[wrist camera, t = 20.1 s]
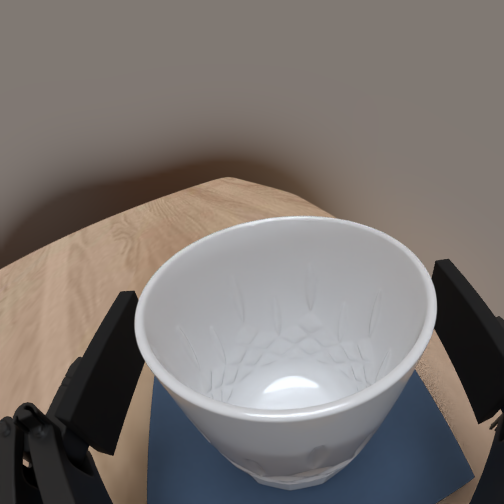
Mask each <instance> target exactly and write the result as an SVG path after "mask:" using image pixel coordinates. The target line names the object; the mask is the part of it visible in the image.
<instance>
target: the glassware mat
mask: <svg viewBox="0 0 504 504" xmlns="http://www.w3.org/2000/svg"><path fill="white" fill-rule="evenodd" d="M474 477H475V476H474V474H473V472H472V470H471V468H470V466H469V464H468V462H467V460H466V458H465V456H464V454H463V452H462V450H461V448H460V446H459V444H458V442H457V440H456V439H455V437H454V435H453V433H452V431H451V429H450V428H449V426H448V424H447V422H446V420H445V419H444V417H443V415H442V413H441V412H440V410H439V408H438V406H437V405H436V403H435V401H434V400H433V398H432V396H431V395H430V393H429V391H428V390H427V388H426V386H425V385H424V383H423V382H422V380H421V378H420V377H419V375H418V373H417V372H416V370H414V372H413V374H412V376H411V377H410V379H409V381H408V383H407V384H406V386H405V388H404V390H403V391H402V393H401V395H400V396H399V398H398V400H397V401H396V403H395V405H394V406H393V408H392V409H391V411H390V412H389V414H388V416H387V417H386V419H385V420H384V422H383V423H382V425H381V426H380V428H379V429H378V430H377V432H376V433H375V434H374V436H373V437H372V438H371V439H370V441H369V442H368V443H367V444H366V446H365V447H364V448H363V449H362V450H361V451H360V452H359V454H358V455H357V456H356V457H355V458H354V459H353V460H352V461H351V462H350V463H349V464H348V465H347V466H346V467H345V468H343V469H342V470H341V471H340V472H338V473H337V474H336V475H334V476H333V477H331V478H330V479H329V480H327V481H326V482H325V483H323V484H320V485H316V486H311V487H306V488H301V489H296V490H291V491H290V490H284V489H280V488H275V487H271V486H267V485H263V484H259V483H258V482H256V481H255V480H254V479H253V478H251V477H250V476H249V475H248V474H247V473H245V472H244V471H242V470H241V469H239V468H237V467H236V466H234V465H233V464H232V463H231V462H230V461H229V460H228V459H227V458H225V457H224V456H223V455H222V454H221V453H220V452H219V451H218V450H217V449H216V448H215V447H214V446H213V445H211V443H210V442H208V440H207V439H206V438H205V437H204V436H203V435H202V434H201V432H200V431H199V430H198V429H197V428H196V427H195V425H194V424H193V423H192V422H191V421H190V419H189V418H188V417H187V416H186V415H185V413H184V412H183V411H182V410H181V409H180V407H179V406H178V405H177V404H176V402H175V401H174V400H173V399H172V397H171V396H170V395H169V394H168V392H167V391H166V390H165V388H164V387H163V386H162V384H161V383H160V382H159V380H158V379H157V378H156V376H154V385H153V395H152V405H151V417H150V430H149V446H148V470H147V504H436V503H437V502H439V501H441V500H442V499H444V498H445V497H447V496H449V495H450V494H452V493H453V492H455V491H456V490H458V489H459V488H461V487H462V486H463V485H465V484H466V483H468V482H469V481H470V480H472V479H473V478H474Z"/></svg>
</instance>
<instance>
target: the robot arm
mask: <svg viewBox="0 0 504 504" xmlns="http://www.w3.org/2000/svg"><path fill="white" fill-rule="evenodd" d="M431 279H432V282H433V285H434V288H435V292H436V298H437V315H436V322H435V326H434V329H435V331H436V333H437V335H438V336H439V338H440V340H441V342H442V344H443V346H444V348H445V350H446V352H447V354H448V356H449V358H450V360H451V362H452V364H453V366H454V368H455V370H456V372H457V374H458V377H459V379H460V381H461V383H462V385H463V388H464V390H465V392H466V394H467V397H468V399H469V402H470V404H471V406H472V409H473V411H474V414H475V416H476V419H477V422H478V424H480V423H482V422H484V421H486V420H488V419H490V418H492V417H493V416H494V415H495V414H496V413H497V412H498V411H499V410H500V409H501V411H502V414H501V415H500V416H499V417H498V418H497V419H496V420H495V421H494V422H493V423H492V424H491V426H490V429H493V428H494V427H495V426H496V425H497V424H498V425H497V427H496V428H495V430H494V431H496V433H495V436H494V440H493V443H492V447H491V450H490V453H489V456H488V459H487V462H486V465H485V468H484V470H483V473H482V476H481V478H480V481H479V483H478V485H477V488H476V490H475V492H474V495H473V497H472V499H471V501H470V503H469V504H504V320H503V319H502V318H501V317H500V316H498V317H495V316H494V315H493V313H492V312H491V310H490V309H489V308H488V306H487V305H486V304H485V302H484V301H483V300H482V298H481V297H480V296H479V294H478V293H477V292H476V291H475V290H474V288H473V287H472V286H471V285H470V283H469V282H468V281H467V280H466V278H465V277H464V276H463V275H462V274H461V273H460V271H459V270H458V269H457V268H456V267H455V266H454V264H453V263H452V262H451V261H450V260H449V259H444V260H438V261H435V266H434V270H433V275H432V278H431ZM138 301H139V300H138V298H137V295H136V293H135V291H122V292H120V293H119V295H118V296H117V298H116V300H115V301H114V303H113V305H112V306H111V308H110V309H109V311H108V313H107V315H106V316H105V318H104V320H103V321H102V323H101V325H100V326H99V328H98V330H97V332H96V333H95V335H94V337H93V339H92V341H91V342H90V344H89V346H88V348H87V350H86V352H85V353H84V355H83V357H78V358H77V359H76V360H75V361H74V362H73V363H72V364H71V366H70V367H69V369H68V371H67V373H66V375H65V376H66V377H65V378H64V379H63V381H62V383H61V384H62V385H61V386H60V387H59V389H58V391H57V393H56V395H55V397H54V399H53V401H52V403H51V405H50V407H49V410H48V412H47V413H46V415H44V414H43V413H42V412H41V411H40V410H39V409H38V408H37V407H36V406H35V405H34V404H33V403H29V402H27V403H23V404H22V405H20V406H19V407H18V408H17V410H16V411H15V413H14V416H13V418H11V417H8V416H7V417H4V418H3V419H1V420H0V504H113V503H112V501H111V499H110V497H109V495H108V492H107V490H106V488H105V486H104V484H103V482H102V479H101V477H100V475H99V472H98V470H97V467H96V465H95V462H94V460H93V457H92V455H91V453H90V452H89V451H88V447H89V445H90V446H91V447H93V448H94V449H95V450H97V451H98V452H102V453H105V454H108V455H112V456H114V452H115V449H116V446H117V442H118V439H119V436H120V433H121V429H122V426H123V423H124V420H125V417H126V414H127V411H128V408H129V405H130V402H131V399H132V396H133V393H134V390H135V388H136V385H137V382H138V379H139V376H140V374H141V371H142V368H143V365H144V363H145V360H144V358H143V356H142V354H141V352H140V350H139V347H138V344H137V340H136V335H135V324H134V323H135V312H136V308H137V304H138ZM23 459H25V460H26V461H28V462H29V467H26V466H25V465H23Z"/></svg>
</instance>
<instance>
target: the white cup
mask: <svg viewBox="0 0 504 504" xmlns="http://www.w3.org/2000/svg"><path fill="white" fill-rule="evenodd" d="M436 315H437V298H436V292H435V288H434V285H433V282H432V279H431V277H430V275H429V273H428V271H427V270H426V268H425V266H424V265H423V264H422V262H421V261H420V260H419V259H418V258H417V256H416V255H415V254H414V253H413V252H412V251H410V250H409V249H408V248H407V247H406V246H405V245H403V244H402V243H400V242H399V241H397V240H396V239H394V238H393V237H391V236H389V235H387V234H385V233H383V232H381V231H379V230H376V229H374V228H371V227H369V226H365V225H362V224H359V223H356V222H352V221H347V220H342V219H336V218H329V217H319V216H285V217H275V218H267V219H261V220H255V221H251V222H246V223H242V224H238V225H235V226H232V227H228V228H225V229H223V230H220V231H217V232H215V233H212V234H210V235H208V236H205V237H203V238H201V239H199V240H197V241H195V242H193V243H192V244H190V245H188V246H187V247H185V248H183V249H182V250H180V251H179V252H178V253H176V254H175V255H174V256H172V257H171V258H170V259H169V260H167V261H166V262H165V263H164V264H163V265H162V266H161V267H160V268H159V269H158V270H157V271H156V272H155V273H154V275H153V276H152V277H151V279H150V280H149V281H148V283H147V284H146V286H145V288H144V290H143V291H142V294H141V296H140V298H139V301H138V304H137V308H136V312H135V323H134V324H135V335H136V340H137V344H138V347H139V350H140V352H141V354H142V356H143V358H144V360H145V362H146V364H147V365H148V367H149V368H150V369H151V371H152V372H153V374H154V375H155V376H156V378H157V379H158V380H159V382H160V383H161V384H162V386H163V387H164V388H165V390H166V391H167V392H168V394H169V395H170V396H171V397H172V399H173V400H174V401H175V402H176V404H177V405H178V406H179V407H180V409H181V410H182V411H183V412H184V413H185V415H186V416H187V417H188V418H189V419H190V421H191V422H192V423H193V424H194V425H195V427H196V428H197V429H198V430H199V431H200V432H201V434H202V435H203V436H204V437H205V438H206V439H207V440H208V442H210V443H211V445H213V446H214V447H215V448H216V449H217V450H218V451H219V452H220V453H221V454H222V455H223V456H224V457H225V458H227V459H228V460H229V461H230V462H231V463H232V464H233V465H234V466H236V467H237V468H239V469H241V470H242V471H244V472H245V473H247V474H248V475H249V476H250V477H251V478H253V479H254V480H255V481H256V482H258V483H259V484H263V485H267V486H271V487H275V488H280V489H284V490H290V491H291V490H296V489H301V488H306V487H311V486H316V485H320V484H323V483H325V482H326V481H327V480H329V479H330V478H331V477H333V476H334V475H336V474H337V473H338V472H340V471H341V470H342V469H343V468H345V467H346V466H347V465H348V464H349V463H350V462H351V461H352V460H353V459H354V458H355V457H356V456H357V455H358V454H359V452H360V451H361V450H362V449H363V448H364V447H365V446H366V444H367V443H368V442H369V441H370V439H371V438H372V437H373V436H374V434H375V433H376V432H377V430H378V429H379V428H380V426H381V425H382V423H383V422H384V420H385V419H386V417H387V416H388V414H389V412H390V411H391V409H392V408H393V406H394V405H395V403H396V401H397V400H398V398H399V396H400V395H401V393H402V391H403V390H404V388H405V386H406V384H407V383H408V381H409V379H410V377H411V376H412V374H413V372H414V370H415V368H416V366H417V364H418V363H419V361H420V359H421V357H422V355H423V353H424V351H425V349H426V347H427V345H428V343H429V340H430V338H431V335H432V333H433V330H434V326H435V322H436Z"/></svg>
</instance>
